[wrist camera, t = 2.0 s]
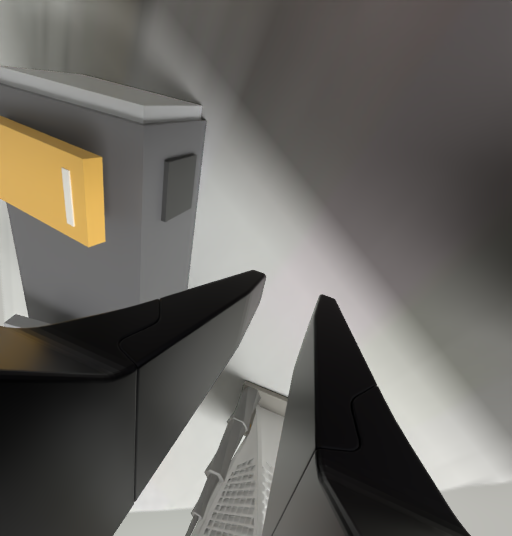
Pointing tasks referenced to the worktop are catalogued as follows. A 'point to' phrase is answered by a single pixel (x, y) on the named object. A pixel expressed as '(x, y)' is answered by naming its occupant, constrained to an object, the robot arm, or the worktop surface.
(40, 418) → the robot arm
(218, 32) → the worktop surface
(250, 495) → the skyscraper
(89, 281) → the grey switch box
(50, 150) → the rocker outlet
